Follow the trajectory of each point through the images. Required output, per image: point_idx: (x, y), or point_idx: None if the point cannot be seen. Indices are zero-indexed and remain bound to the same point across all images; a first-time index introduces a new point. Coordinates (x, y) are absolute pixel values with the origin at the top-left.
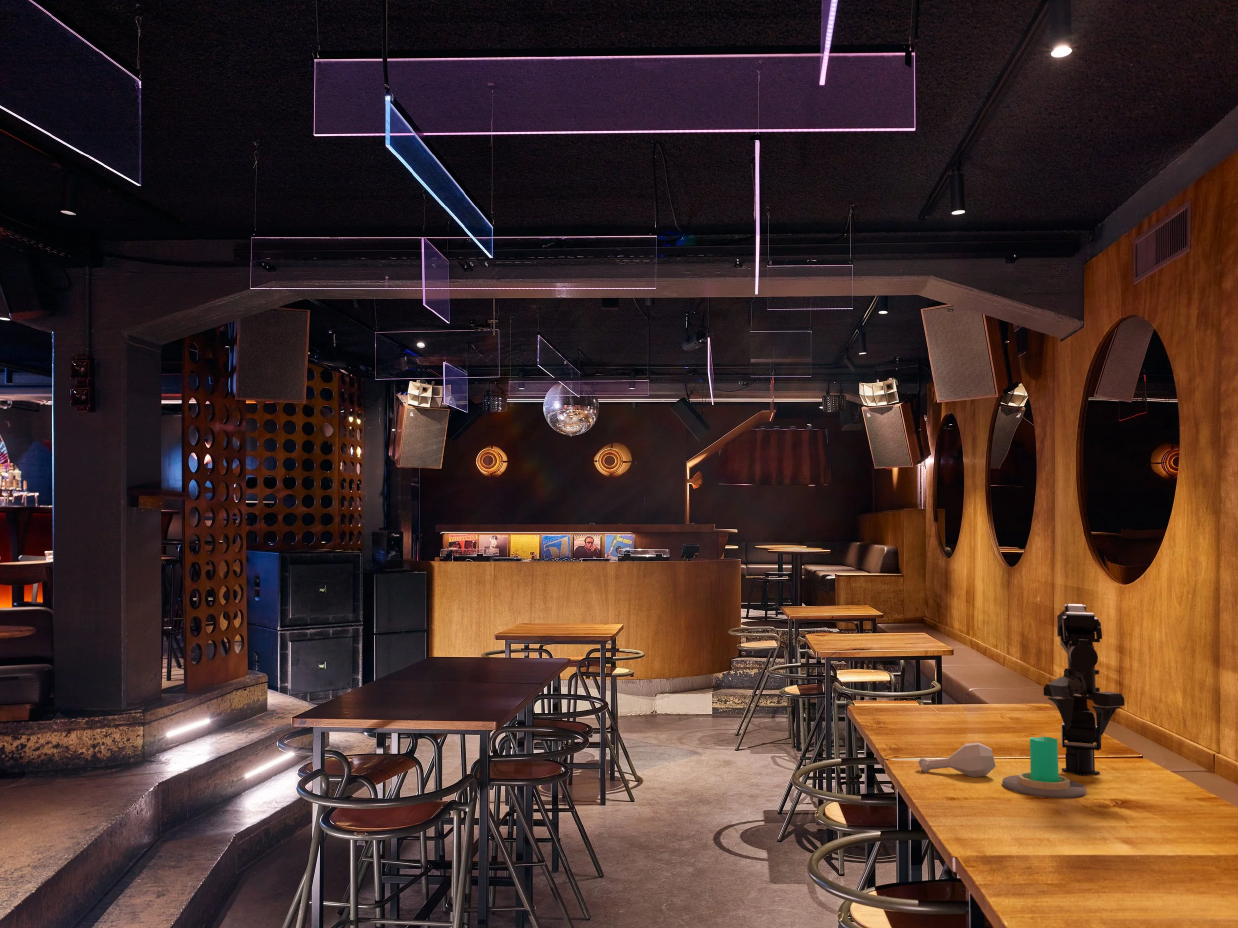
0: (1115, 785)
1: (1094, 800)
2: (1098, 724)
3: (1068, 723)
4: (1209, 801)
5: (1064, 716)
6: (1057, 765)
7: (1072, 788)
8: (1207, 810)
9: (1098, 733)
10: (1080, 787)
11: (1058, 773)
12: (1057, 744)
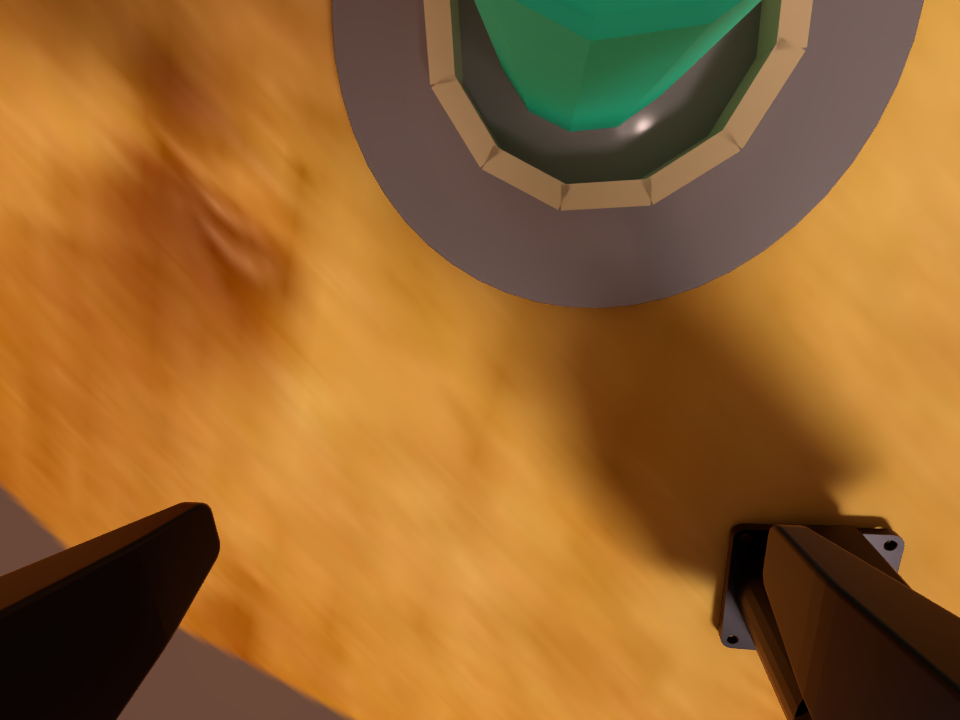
0: (512, 514)
1: (277, 139)
2: (8, 587)
3: (801, 614)
4: (200, 615)
5: (932, 677)
6: (501, 51)
7: (439, 144)
8: (82, 495)
9: (174, 507)
10: (448, 221)
11: (522, 94)
12: (496, 11)
